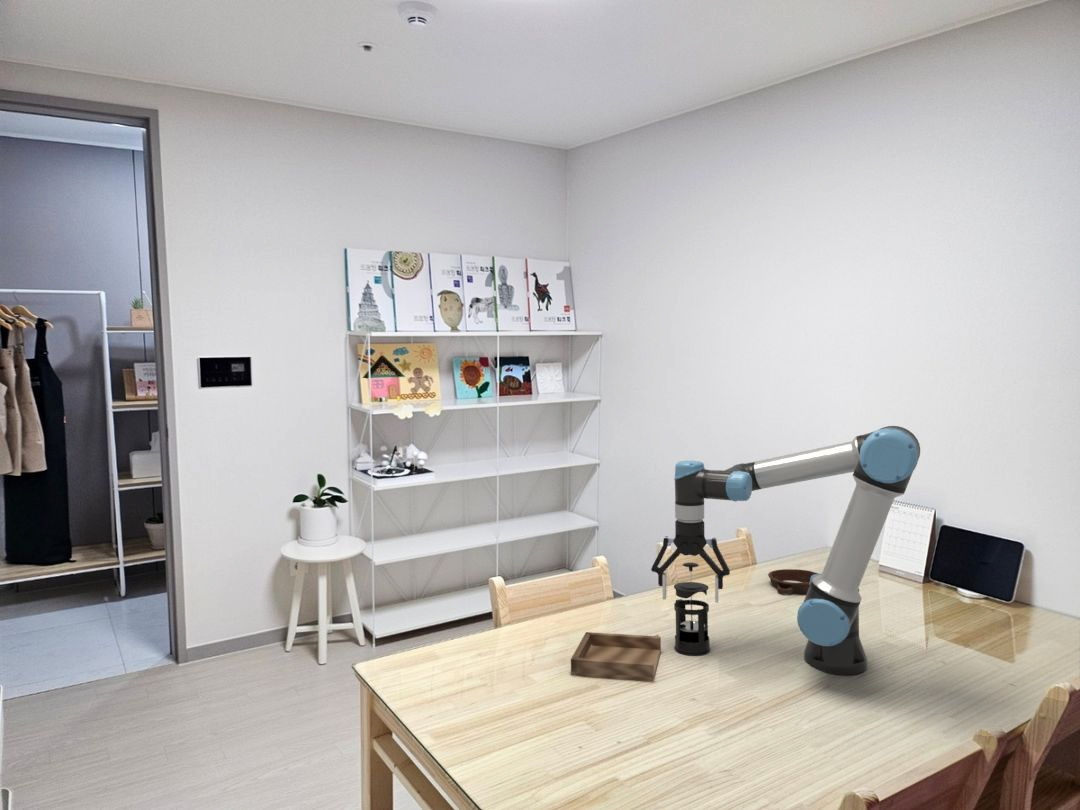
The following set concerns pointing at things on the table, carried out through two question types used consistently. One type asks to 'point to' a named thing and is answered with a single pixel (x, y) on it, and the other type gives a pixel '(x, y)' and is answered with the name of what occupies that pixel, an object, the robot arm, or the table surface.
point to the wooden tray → (617, 656)
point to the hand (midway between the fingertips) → (690, 599)
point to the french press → (691, 633)
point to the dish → (791, 575)
